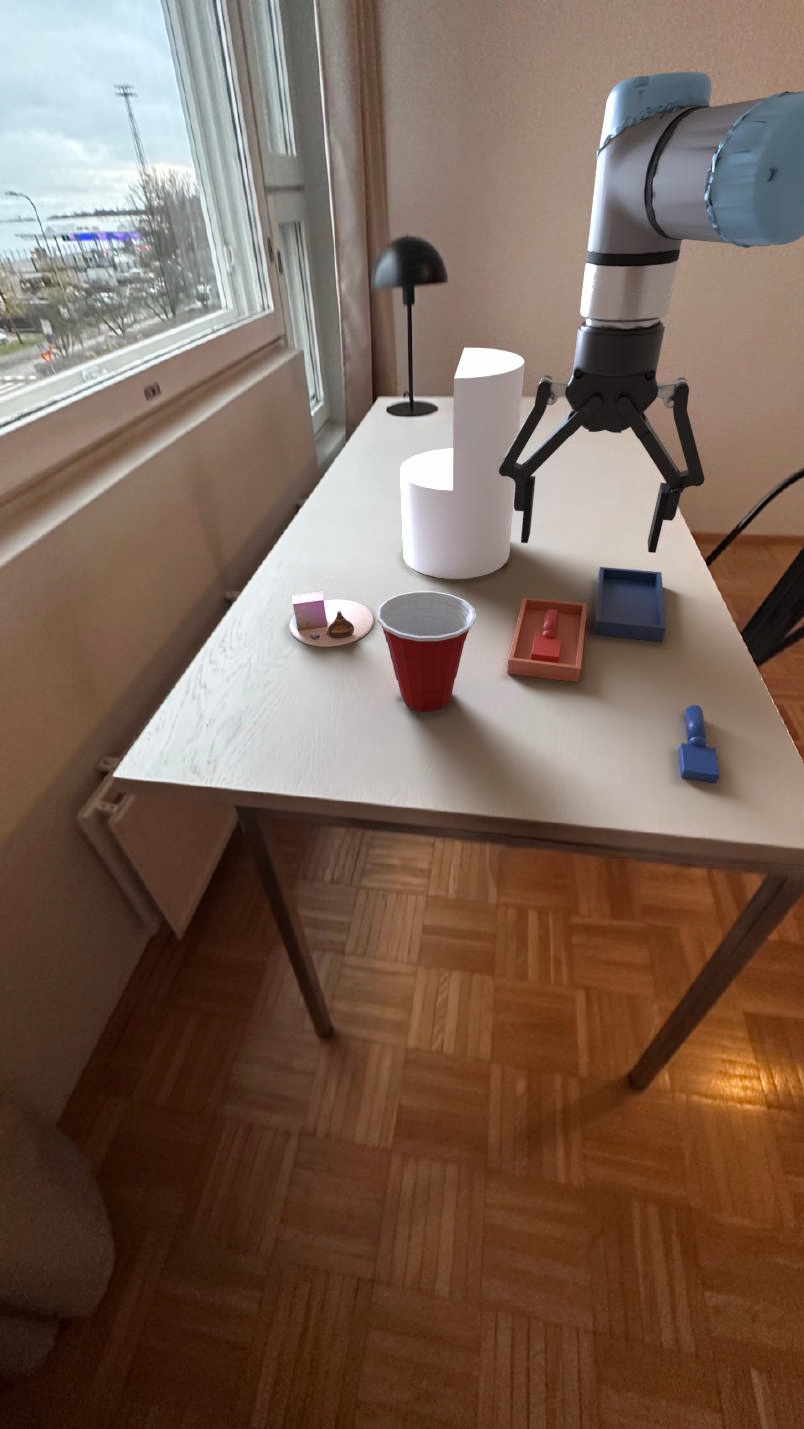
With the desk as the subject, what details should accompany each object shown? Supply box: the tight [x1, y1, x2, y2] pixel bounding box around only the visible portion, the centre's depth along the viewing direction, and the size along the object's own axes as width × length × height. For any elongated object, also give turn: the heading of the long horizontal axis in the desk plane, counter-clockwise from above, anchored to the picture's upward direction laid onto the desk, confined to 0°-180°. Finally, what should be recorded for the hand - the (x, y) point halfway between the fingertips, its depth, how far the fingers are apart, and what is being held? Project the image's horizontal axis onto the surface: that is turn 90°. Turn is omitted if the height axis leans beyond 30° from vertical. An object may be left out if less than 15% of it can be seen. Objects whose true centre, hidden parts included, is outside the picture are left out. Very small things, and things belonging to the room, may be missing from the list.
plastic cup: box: [376, 590, 477, 713], centre depth 72 cm, size 11×11×12 cm
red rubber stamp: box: [531, 609, 562, 663], centre depth 82 cm, size 11×3×2 cm, turn 165°
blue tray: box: [593, 566, 666, 643], centre depth 88 cm, size 9×15×2 cm, turn 165°
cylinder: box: [399, 347, 526, 580], centre depth 94 cm, size 17×17×28 cm
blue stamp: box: [678, 704, 720, 784], centre depth 67 cm, size 11×3×2 cm, turn 165°
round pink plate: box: [288, 590, 375, 648], centre depth 88 cm, size 12×12×4 cm
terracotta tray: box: [506, 597, 588, 683], centre depth 82 cm, size 9×15×2 cm, turn 165°
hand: (587, 542), depth 70 cm, fingers open, 13 cm apart
